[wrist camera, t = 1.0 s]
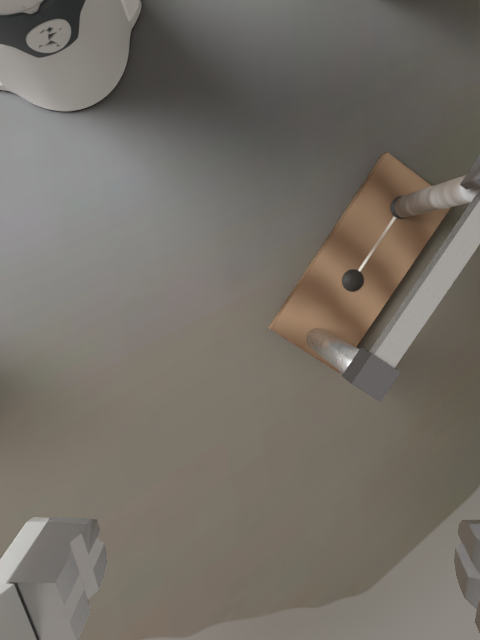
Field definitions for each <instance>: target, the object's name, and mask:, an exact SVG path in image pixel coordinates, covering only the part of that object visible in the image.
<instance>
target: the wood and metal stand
mask: <svg viewBox="0 0 480 640" xmlns="http://www.w3.org/2000/svg"><path fill="white" fill-rule="evenodd" d="M479 190H480V155H479V157H478V158H477V160H476V161H475V163H474V164H473V165H472V167H471V168H470V170H469V171H468V173H467V174H466V175H464V176H461V177H458V178H455V179H452V180H449V181H446V182H443V183H440V184H437V185H434V186H431V185H430V184H428V183H427V182H426V181H425V180H423V179H422V178H421V177H419V176H418V175H417V174H415V173H414V172H413V171H411V170H410V169H409V168H408V167H406V166H405V165H404V164H402V163H401V162H400V161H398V160H397V159H396V158H394V157H393V156H392V155H391V154H389V153H388V152H386V153H385V154H383V155H381V157H380V159H379V160H378V162H377V163H376V165H375V166H374V168H373V169H372V171H371V172H370V174H369V175H368V177H367V178H366V180H365V181H364V183H363V184H362V186H361V187H360V189H359V190H358V192H357V193H356V195H355V197H354V198H353V200H352V201H351V203H350V204H349V206H348V207H347V209H346V210H345V212H344V213H343V215H342V216H341V218H340V219H339V221H338V222H337V224H336V225H335V227H334V228H333V230H332V231H331V233H330V235H329V236H328V238H327V239H326V241H325V242H324V244H323V245H322V247H321V248H320V250H319V251H318V253H317V254H316V256H315V257H314V259H313V260H312V262H311V263H310V265H309V266H308V268H307V269H306V271H305V273H304V274H303V276H302V277H301V279H300V280H299V282H298V283H297V285H296V286H295V288H294V289H293V291H292V292H291V294H290V295H289V297H288V298H287V300H286V301H285V303H284V304H283V306H282V307H281V309H280V311H279V312H278V314H277V315H276V317H275V318H274V320H273V321H272V323H271V324H270V326H269V328H270V329H271V330H273V331H274V332H276V333H277V334H279V335H280V336H282V337H284V338H285V339H287V340H288V341H290V342H291V343H293V344H295V345H296V346H298V347H299V348H301V349H302V350H304V351H305V352H307V353H309V354H310V355H312V356H313V357H315V358H316V359H318V360H319V361H321V362H323V363H324V364H326V365H327V366H329V367H330V368H332V369H333V370H335V371H337V372H338V373H339V372H340V371H339V370H338V369H337V368H335V367H334V366H333V365H332V364H330V363H329V362H328V361H326V360H325V359H324V358H323V357H321V356H320V355H319V354H317V353H316V352H315V351H314V350H312V349H311V348H310V347H309V346H308V345H307V343H306V336H307V334H308V332H309V331H310V330H312V329H314V328H321V329H323V330H325V331H327V332H329V333H330V334H332V335H334V336H336V337H338V338H340V339H341V340H343V341H345V342H347V343H349V344H351V345H352V346H354V347H357V345H358V344H359V342H360V341H361V339H362V338H363V336H364V335H365V333H366V332H367V330H368V329H369V327H370V326H371V324H372V323H373V321H374V320H375V319H376V317H377V316H378V314H379V313H380V311H381V310H382V308H383V307H384V305H385V304H386V302H387V301H388V299H389V298H390V296H391V295H392V293H393V292H394V290H395V289H396V288H397V286H398V285H399V283H400V282H401V280H402V279H403V277H404V276H405V274H406V273H407V271H408V270H409V268H410V267H411V265H412V264H413V262H414V261H415V259H416V258H417V257H418V255H419V254H420V252H421V251H422V249H423V248H424V246H425V245H426V243H427V242H428V240H429V239H430V237H431V236H432V234H433V233H434V231H435V230H436V228H437V227H438V226H439V224H440V223H441V221H442V220H443V218H444V217H445V215H446V214H447V212H448V211H449V209H450V208H451V207H454V206H458V205H463V204H467V203H471V201H472V200H473V198H474V197H475V195H476V194H477V193H478V191H479Z"/></svg>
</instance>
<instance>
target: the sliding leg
mask: <svg viewBox="0 0 480 640" xmlns="http://www.w3.org/2000/svg"><path fill="white" fill-rule="evenodd" d="M479 244H480V190H479V191H478V193H477V194H476V195H475V197H474V198H473V200H472V201H471V203H470V204H469V206H468V207H467V209H466V210H465V212H464V213H463V215H462V216H461V217H460V219H459V220H458V222H457V223H456V225H455V226H454V228H453V229H452V231H451V232H450V234H449V235H448V237H447V238H446V240H445V241H444V242H443V244H442V245H441V247H440V248H439V250H438V251H437V253H436V254H435V256H434V257H433V259H432V260H431V262H430V263H429V264H428V266H427V267H426V269H425V270H424V272H423V273H422V275H421V276H420V278H419V279H418V281H417V282H416V284H415V285H414V287H413V288H412V289H411V291H410V292H409V294H408V295H407V297H406V298H405V300H404V301H403V303H402V304H401V306H400V307H399V309H398V310H397V311H396V313H395V314H394V316H393V317H392V319H391V320H390V322H389V323H388V325H387V326H386V328H385V329H384V331H383V332H382V334H381V335H380V336H379V338H378V339H377V341H376V342H375V344H374V345H373V347H372V348H371V350H370V351H367V350H365V349H363V348H360V349H358V348H356V347H354V346H352V345H351V344H349V343H347V342H345V341H343V340H341V339H340V338H338V337H336V336H334V335H332V334H330V333H329V332H327V331H325V330H323V329H321V328H314V329H312V330H310V331H309V332H308V334H307V336H306V343H307V345H308V346H309V347H310V348H311V349H312V350H314V351H315V352H316V353H317V354H319V355H320V356H321V357H323V358H324V359H325V360H326V361H328V362H329V363H330V364H332V365H333V366H334V367H335V368H337V369H338V370H339V371H340V372H342V373H343V375H342V376H343V377H344V378H345V379H346V380H347V381H349V382H350V383H351V384H353V385H354V386H356V387H357V388H359V389H360V390H362V391H364V392H365V393H367V394H368V395H370V396H371V397H373V398H375V399H376V400H378V401H379V402H381V400H382V399H383V397H384V396H385V394H386V393H387V391H388V390H389V389H390V387H391V386H392V384H393V383H394V381H395V380H396V378H397V377H398V375H399V374H400V373H401V372H400V371H398V370H397V369H395V366H396V365H397V364H398V362H399V361H400V359H401V358H402V356H403V355H404V353H405V352H406V350H407V349H408V348H409V346H410V345H411V343H412V342H413V340H414V339H415V337H416V336H417V334H418V333H419V332H420V330H421V329H422V327H423V326H424V324H425V323H426V321H427V320H428V318H429V317H430V316H431V314H432V313H433V311H434V310H435V308H436V307H437V305H438V304H439V302H440V301H441V300H442V298H443V297H444V295H445V294H446V292H447V291H448V289H449V288H450V287H451V285H452V284H453V282H454V281H455V279H456V278H457V276H458V275H459V273H460V272H461V271H462V269H463V268H464V266H465V265H466V263H467V262H468V260H469V259H470V257H471V256H472V255H473V253H474V252H475V250H476V249H477V247H478V246H479Z"/></svg>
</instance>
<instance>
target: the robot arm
mask: <svg viewBox="0 0 480 640" xmlns="http://www.w3.org/2000/svg"><path fill="white" fill-rule="evenodd" d="M141 6H142V5H141V0H0V90H5V91H10V92H13V93H15V94H17V95H19V96H20V97H22V98H23V99H25V100H27V101H29V102H30V103H32V104H35V105H37V106H39V107H42V108H46V109H49V110H55V111H75V110H80V109H84V108H87V107H89V106H91V105H94V104H95V103H97V102H99V101H100V100H102V99H103V98H105V97H106V96H107V95H108V94H109V93H110V92H111V91H112V90H113V89H114V88H115V86H116V85H117V83H118V82H119V80H120V78H121V77H122V75H123V72H124V70H125V67H126V64H127V60H128V54H129V43H130V34H131V30H132V28H133V26H134V24H135V23H136V21H137V19H138V16H139V14H140V11H141ZM99 532H100V528H99V525H98V522H97V520H96V519H85V518H56V517H53V518H47V517H33V518H32V519H30V520H29V521H27V522H26V523H25V525H24V526H23V528H22V529H21V531H20V532H19V534H18V535H17V536H16V538H15V539H14V541H13V542H12V544H11V545H10V546H9V548H8V549H7V551H6V552H5V554H4V555H3V556H2V558H1V559H0V640H78V638H79V636H80V634H81V631H82V629H83V626H84V624H85V622H86V619H87V617H88V615H89V612H90V606H89V601H88V599H89V598H90V597H91V596H92V595H93V594H95V593H96V592H97V591H98V590H99V588H100V585H101V583H102V580H103V578H104V574H105V568H106V563H107V559H106V549H105V545H104V544H103V543H102V542H101V541H100V540H99V539H98V538H97V536H98V534H99ZM458 535H459V536H460V539H461V541H462V543H461V544H460V545H459V546H458V547H457V548H456V549H455V559H454V562H455V569H456V575H457V579H458V582H459V585H460V588H461V590H462V593H463V595H464V597H465V599H466V600H467V601H468V602H469V603H470V604H472V605H473V606H474V607H475V608H476V609H477V613H476V618H475V623H476V625H477V628H478V630H479V632H480V520H462V521H461V523H460V524H459V529H458Z"/></svg>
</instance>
